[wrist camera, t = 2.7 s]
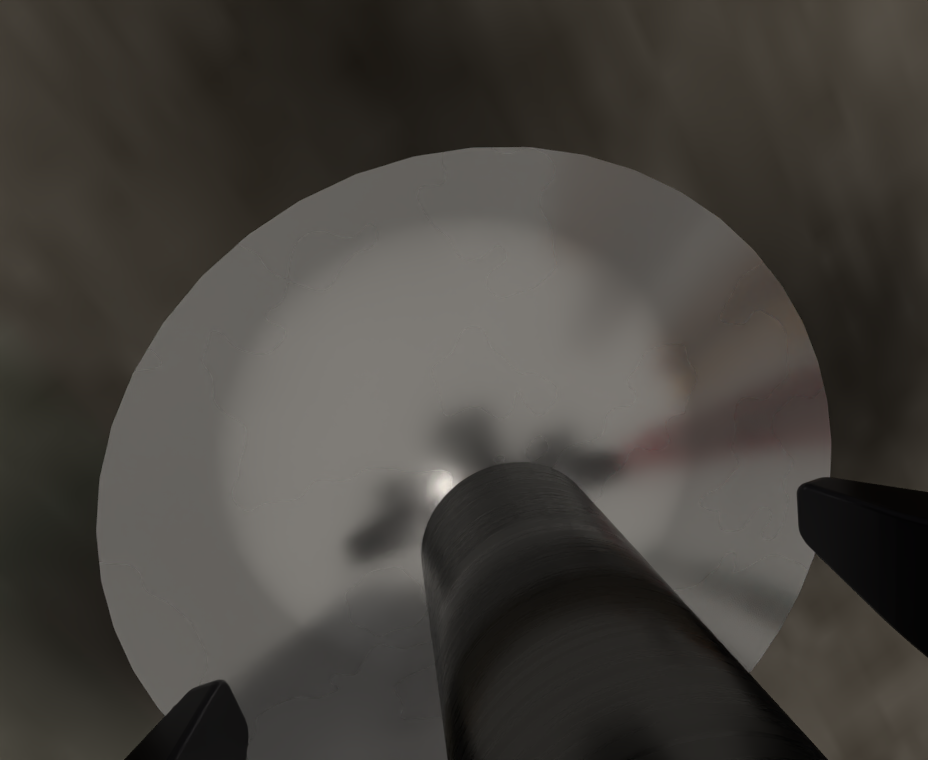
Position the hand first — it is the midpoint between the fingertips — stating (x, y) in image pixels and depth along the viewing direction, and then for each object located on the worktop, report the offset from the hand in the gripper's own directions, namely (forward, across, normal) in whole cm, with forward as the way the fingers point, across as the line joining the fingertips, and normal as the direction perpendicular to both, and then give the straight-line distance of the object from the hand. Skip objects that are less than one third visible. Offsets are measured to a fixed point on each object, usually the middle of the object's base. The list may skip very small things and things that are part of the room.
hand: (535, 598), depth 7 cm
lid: (+2, 0, 0) cm, 2 cm away
